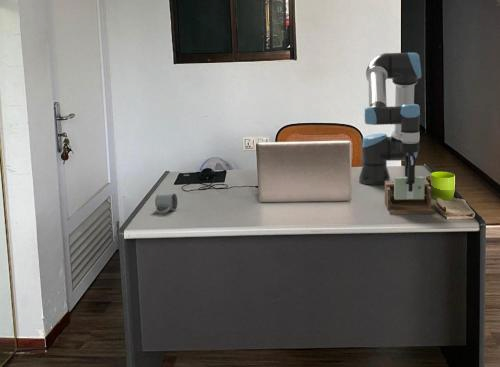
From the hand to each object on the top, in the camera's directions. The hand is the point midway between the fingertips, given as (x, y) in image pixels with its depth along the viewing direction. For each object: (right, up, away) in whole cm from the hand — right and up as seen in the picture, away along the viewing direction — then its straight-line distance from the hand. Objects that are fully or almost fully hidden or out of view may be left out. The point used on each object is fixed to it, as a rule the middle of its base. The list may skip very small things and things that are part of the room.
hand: (409, 197), depth 320 cm
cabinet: (+1, -5, +7) cm, 8 cm away
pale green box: (0, 0, 0) cm, 0 cm away
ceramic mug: (-103, -6, +17) cm, 105 cm away
